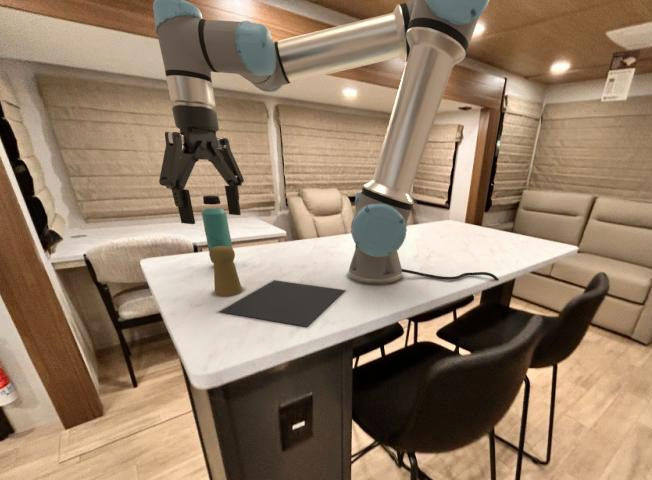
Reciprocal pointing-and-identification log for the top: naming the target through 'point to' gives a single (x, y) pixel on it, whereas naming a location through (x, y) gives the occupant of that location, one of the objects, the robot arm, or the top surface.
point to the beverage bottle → (215, 224)
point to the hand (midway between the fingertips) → (213, 218)
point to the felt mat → (285, 303)
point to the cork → (225, 271)
